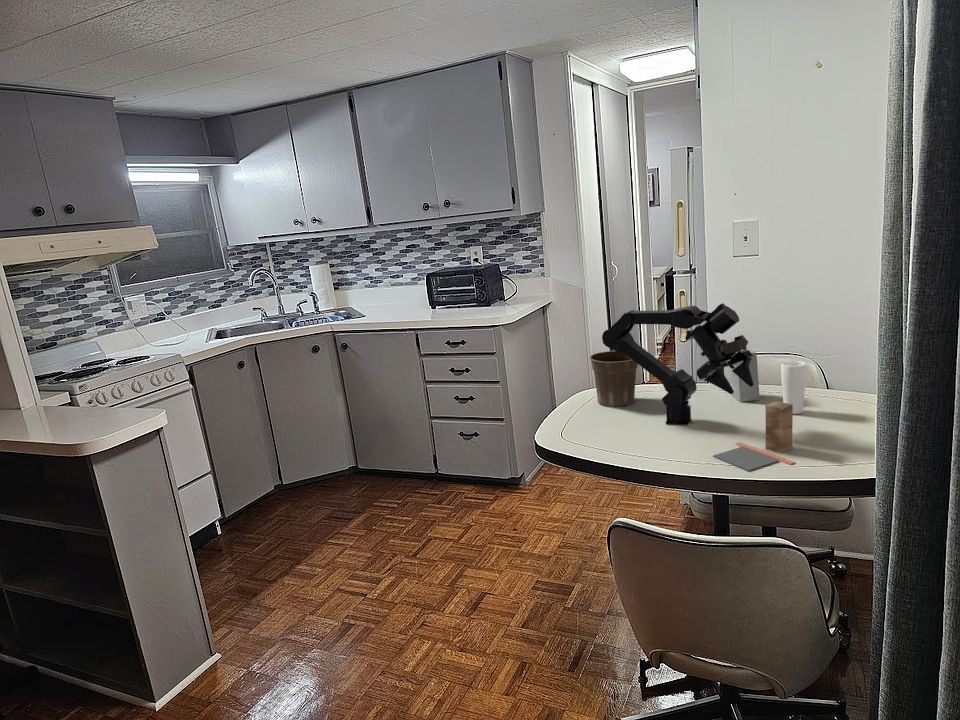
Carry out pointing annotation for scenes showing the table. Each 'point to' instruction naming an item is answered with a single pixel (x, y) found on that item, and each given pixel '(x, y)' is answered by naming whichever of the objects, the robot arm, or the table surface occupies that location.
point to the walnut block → (779, 426)
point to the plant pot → (614, 378)
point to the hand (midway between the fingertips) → (742, 389)
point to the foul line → (765, 453)
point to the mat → (745, 458)
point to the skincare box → (740, 387)
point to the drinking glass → (793, 384)
